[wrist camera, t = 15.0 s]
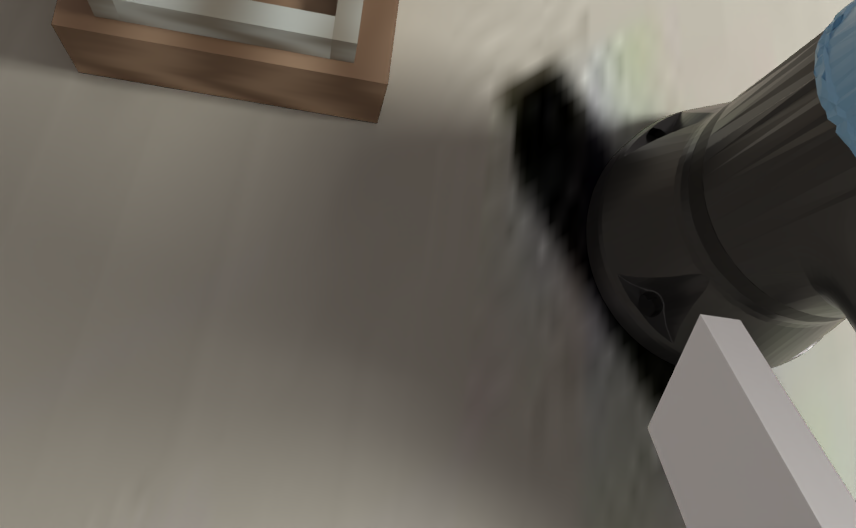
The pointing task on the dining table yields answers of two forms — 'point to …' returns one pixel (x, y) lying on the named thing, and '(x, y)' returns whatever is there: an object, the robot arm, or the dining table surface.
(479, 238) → the dining table surface
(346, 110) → the walnut tray
